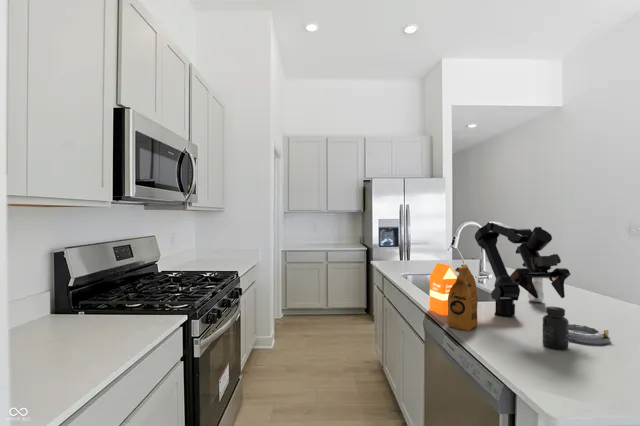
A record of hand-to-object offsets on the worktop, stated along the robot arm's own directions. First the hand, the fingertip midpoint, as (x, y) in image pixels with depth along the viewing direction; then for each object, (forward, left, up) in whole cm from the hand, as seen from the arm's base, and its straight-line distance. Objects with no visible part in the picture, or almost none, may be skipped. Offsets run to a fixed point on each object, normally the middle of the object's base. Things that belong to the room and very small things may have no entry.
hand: (550, 297), depth 120 cm
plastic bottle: (-9, +52, -13) cm, 54 cm away
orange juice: (-38, +9, -13) cm, 42 cm away
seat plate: (+8, +7, -13) cm, 17 cm away
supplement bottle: (+2, -9, -13) cm, 16 cm away
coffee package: (-27, -5, -13) cm, 31 cm away
